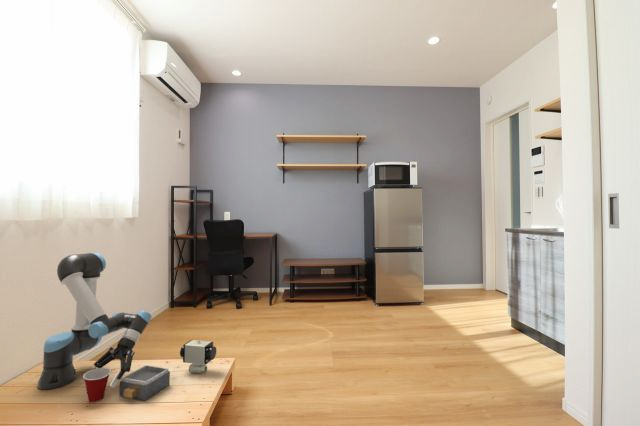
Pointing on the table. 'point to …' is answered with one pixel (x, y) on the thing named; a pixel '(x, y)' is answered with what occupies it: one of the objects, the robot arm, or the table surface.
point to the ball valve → (198, 355)
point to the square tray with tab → (144, 383)
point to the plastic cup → (96, 383)
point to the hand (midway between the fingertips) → (100, 384)
